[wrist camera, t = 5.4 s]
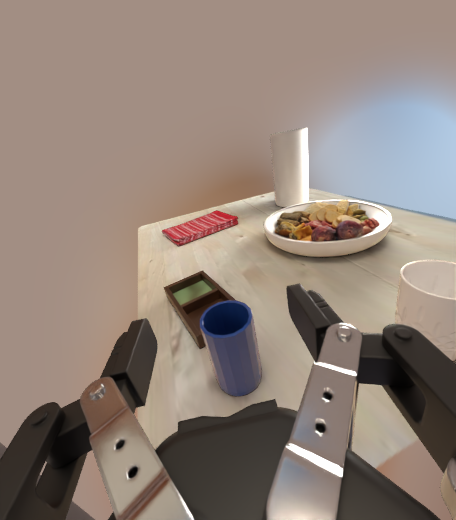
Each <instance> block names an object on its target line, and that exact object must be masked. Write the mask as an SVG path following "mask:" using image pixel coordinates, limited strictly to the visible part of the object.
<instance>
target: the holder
mask: <svg viewBox="0 0 456 520" xmlns="http://www.w3.org/2000/svg"><path fill="white" fill-rule="evenodd" d="M164 290H165V292H166V295H167V298H168V299H169V301H170V302H171V304H172V306H173V307H174V309H175V310H176V312H177V313H178V315H179V317H180V318H181V320H182V321H183V323H184V324H185V326H186V328H187V329H188V331H189V332H190V334H191V336H192V337H193V339H194V340H195V342H196V343H197V345H198V347H199V348H200V349H201V348H203V347H204V346H206V345H205V342H204V338H203V335H202V332H201V329H200V318H201V316H202V314H203V313H204V312H205V311H206V310H207V309H208V308H209V307H210V306H212V305H214V304H216V303H218V302H223V301H227V300H231V301H236V300H235V299H234V298H233V297H232V296H230V295H229V294H228V293H227V292H226V291H225V290H224V289H223V288H221V287H220V286H219V285H218V284H217V283H216V282H215V281H214V280H213V279H211V278H210V277H209V276H208V275H207V274H206V273H205V272H204V271H200V272H198V273H196V274H194V275H191V276H189V277H187V278H184V279H182V280H180V281H178V282H175V283H173V284H171V285H168V286H166V287H164Z"/></svg>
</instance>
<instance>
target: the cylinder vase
mask: <svg viewBox="0 0 456 520" xmlns="http://www.w3.org/2000/svg"><path fill="white" fill-rule="evenodd" d="M270 141H271V154H272V165H273V178H274V190H275V202H276V205H278V206H280V207H289V206H292V205H296V204H301V203H306V202H308V200H309V192H308V129H307V128H302V129H296V130H290V131H285V132H280V133H275V134H271V135H270Z"/></svg>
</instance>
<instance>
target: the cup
mask: <svg viewBox="0 0 456 520" xmlns="http://www.w3.org/2000/svg"><path fill="white" fill-rule="evenodd" d="M200 329H201V332H202V335H203V338H204V342H205V345H206V348H207V351H208V354H209V358H210V361H211V364H212V367H213V370H214V373H215V377H216V380H217V382H218V385H219V386H220V388H221V389H222V390H223V391H224V392H225V393H227V394H229V395H232V396H243V395H247V394H249V393H251V392H252V391H253V390H255V389H256V388H257V386H258V385H259V383H260V381H261V377H262V368H261V362H260V356H259V350H258V344H257V338H256V332H255V326H254V320H253V314H252V312H251V309H250V308H249V307H248V306H247V305H246V304H245V303H242V302H239V301H231V300H227V301H223V302H218V303H216V304H214V305H212V306H210V307H209V308H208V309H207V310H206V311H205V312H204V313H203V314H202V316H201V318H200Z"/></svg>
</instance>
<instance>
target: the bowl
mask: <svg viewBox="0 0 456 520" xmlns="http://www.w3.org/2000/svg"><path fill="white" fill-rule="evenodd" d="M391 223H392V216H391V214H390V213H389V212H388V211H387V210H386V209H384V208H382V207H380V206H377V205H374V204H370V203H366V202H360V201H350V200H324V201H313V202H306V203H301V204H296V205H292V206H289V207H286V208H283V209H280V210H278V211H276V212H274V213H272V214H271V215H269V216H268V217H267V218H266V219H265V221H264V224H263V226H264V232H265V235H266V237H267V238H268V240H269V241H270V242H271V243H272V244H273V245H275V246H276V247H278V248H280V249H282V250H284V251H287V252H290V253H293V254H298V255H304V256H313V257H331V256H341V255H347V254H352V253H356V252H359V251H362V250H365V249H367V248H369V247H371V246H373V245H375V244H377V243H378V242H379V241H381V240H382V239H383V238H384V237H385V236H386V234H387V233H388V231H389V230H390V227H391Z"/></svg>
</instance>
